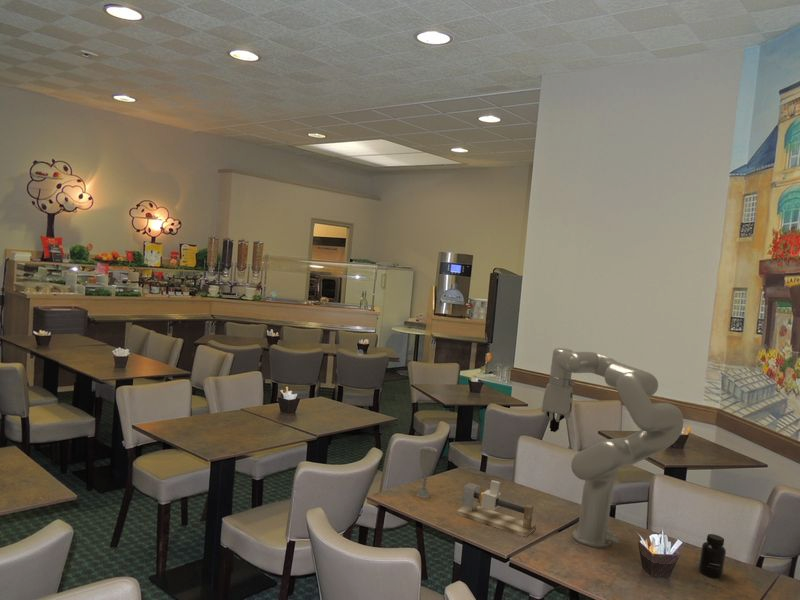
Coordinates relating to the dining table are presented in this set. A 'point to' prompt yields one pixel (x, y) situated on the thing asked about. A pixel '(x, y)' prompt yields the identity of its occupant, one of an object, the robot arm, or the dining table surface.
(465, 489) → the connector
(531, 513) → the beige rod holder
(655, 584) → the dining table surface
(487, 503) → the sleeve
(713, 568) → the supplement bottle
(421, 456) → the chalice
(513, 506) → the dark grey rod
